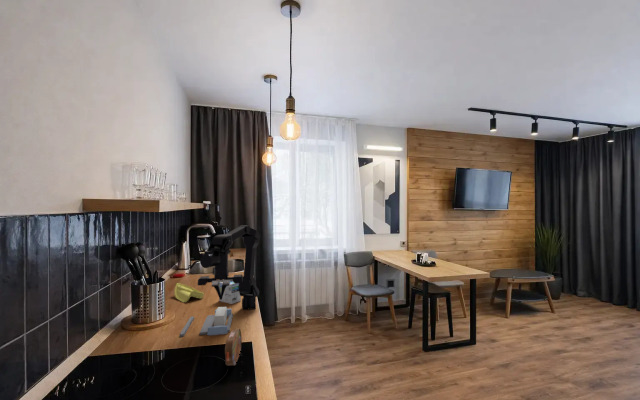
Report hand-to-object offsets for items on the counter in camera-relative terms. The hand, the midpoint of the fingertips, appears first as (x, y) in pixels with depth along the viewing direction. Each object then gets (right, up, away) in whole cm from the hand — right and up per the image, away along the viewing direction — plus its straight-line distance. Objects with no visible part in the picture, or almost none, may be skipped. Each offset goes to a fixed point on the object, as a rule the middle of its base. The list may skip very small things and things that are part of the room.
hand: (220, 299), depth 130 cm
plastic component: (-33, -13, +40) cm, 54 cm away
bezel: (0, -11, -1) cm, 11 cm away
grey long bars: (-5, -11, -2) cm, 12 cm away
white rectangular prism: (0, -11, -1) cm, 11 cm away
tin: (+15, -10, -31) cm, 36 cm away
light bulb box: (-6, -13, +33) cm, 36 cm away
